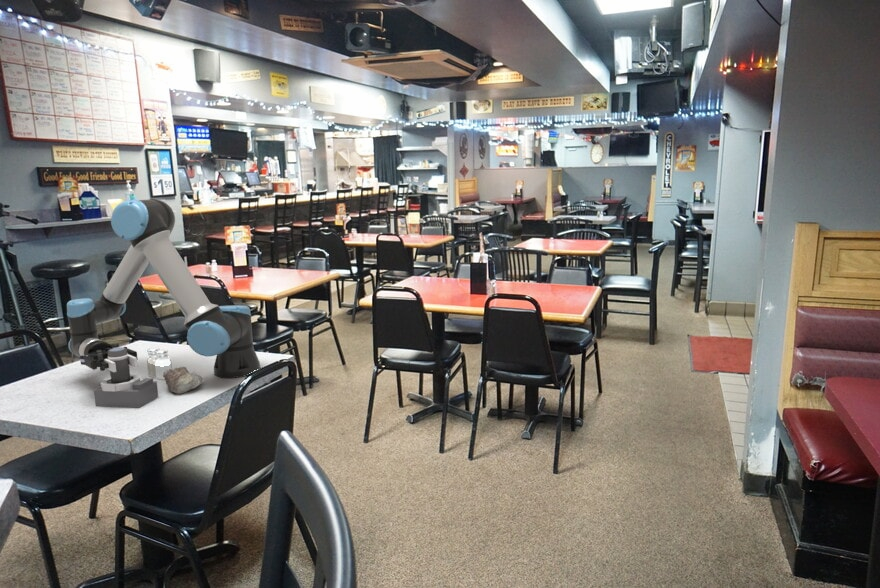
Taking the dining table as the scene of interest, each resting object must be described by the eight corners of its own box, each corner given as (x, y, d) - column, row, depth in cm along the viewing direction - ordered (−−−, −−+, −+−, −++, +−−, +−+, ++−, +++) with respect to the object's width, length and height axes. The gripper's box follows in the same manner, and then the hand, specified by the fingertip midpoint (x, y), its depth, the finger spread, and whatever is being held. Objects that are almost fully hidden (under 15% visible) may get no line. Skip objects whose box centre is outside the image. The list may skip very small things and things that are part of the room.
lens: (135, 383, 176) (131, 347, 174) (123, 388, 171) (119, 351, 169) (119, 382, 177) (115, 346, 174) (107, 388, 171) (102, 351, 169)
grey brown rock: (208, 382, 182) (186, 358, 179) (183, 403, 178) (160, 379, 175) (200, 378, 194) (180, 356, 191) (176, 398, 190) (155, 375, 187)
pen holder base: (159, 396, 178) (156, 375, 177) (138, 408, 169) (135, 386, 167) (117, 394, 180) (115, 373, 179) (94, 406, 171) (91, 384, 169)
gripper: (128, 356, 192) (158, 369, 176) (65, 370, 178) (92, 385, 163) (125, 334, 190) (155, 345, 175) (62, 346, 177) (88, 360, 162)
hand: (125, 364), depth 169 cm, fingers closed on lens, 5 cm apart
